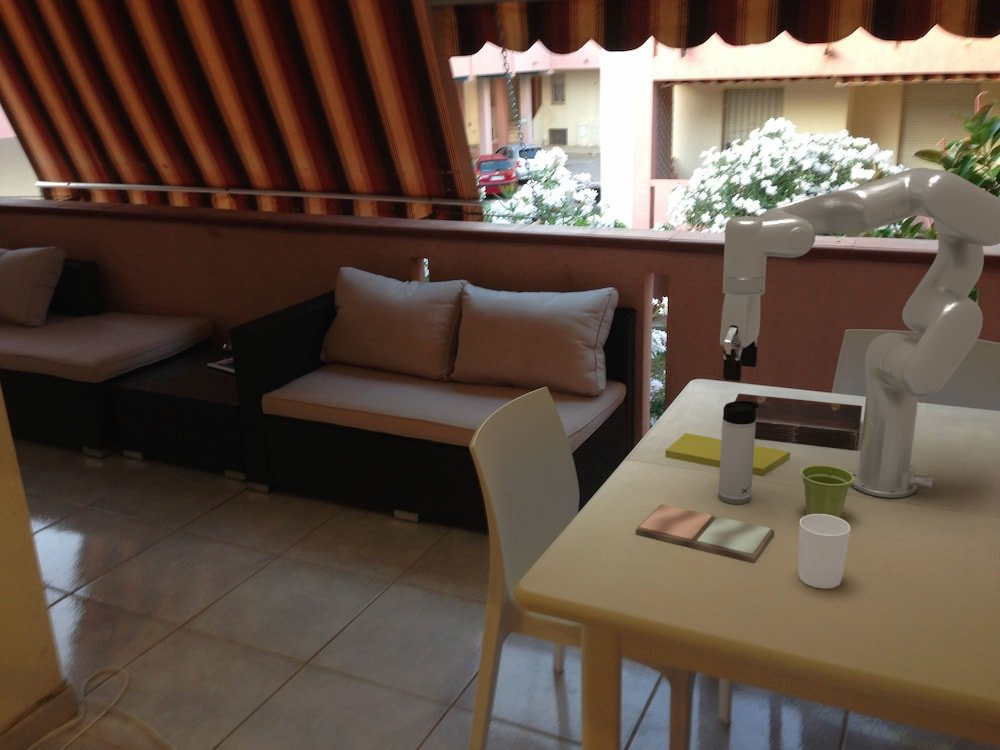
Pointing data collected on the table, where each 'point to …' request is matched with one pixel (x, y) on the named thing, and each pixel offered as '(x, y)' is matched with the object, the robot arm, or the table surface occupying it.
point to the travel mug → (737, 451)
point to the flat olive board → (710, 453)
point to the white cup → (822, 550)
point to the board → (706, 532)
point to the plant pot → (825, 489)
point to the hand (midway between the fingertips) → (740, 372)
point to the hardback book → (806, 421)
